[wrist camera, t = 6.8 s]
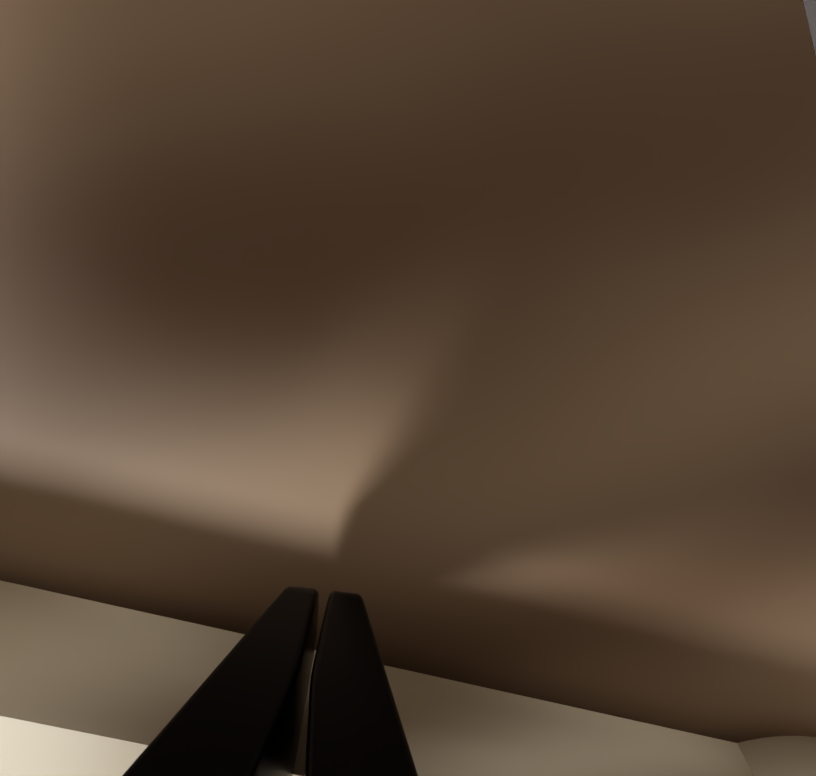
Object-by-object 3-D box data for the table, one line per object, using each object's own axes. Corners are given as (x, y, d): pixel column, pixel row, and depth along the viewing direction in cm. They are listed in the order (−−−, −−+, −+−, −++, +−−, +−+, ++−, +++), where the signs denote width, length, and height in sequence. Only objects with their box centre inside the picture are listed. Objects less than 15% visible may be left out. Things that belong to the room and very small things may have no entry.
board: (949, 810, 13) (1012, 894, 11) (106, 1029, 18) (80, 1106, 16) (530, -680, 5) (571, -979, 4) (-779, 451, 10) (-972, 505, 8)
